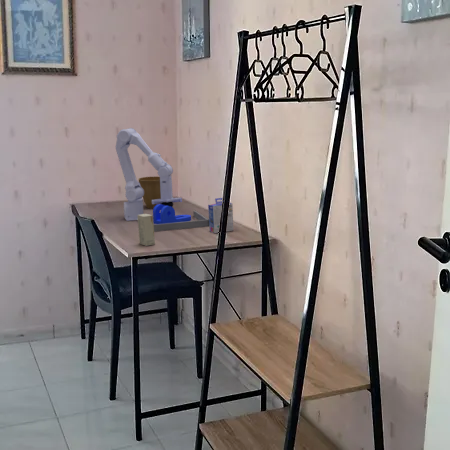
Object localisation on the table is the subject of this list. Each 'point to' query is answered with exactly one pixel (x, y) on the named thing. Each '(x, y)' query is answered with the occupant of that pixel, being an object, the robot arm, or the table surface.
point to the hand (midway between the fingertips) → (167, 217)
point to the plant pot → (150, 190)
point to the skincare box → (146, 229)
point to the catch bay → (184, 223)
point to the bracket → (167, 215)
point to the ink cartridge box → (216, 214)
